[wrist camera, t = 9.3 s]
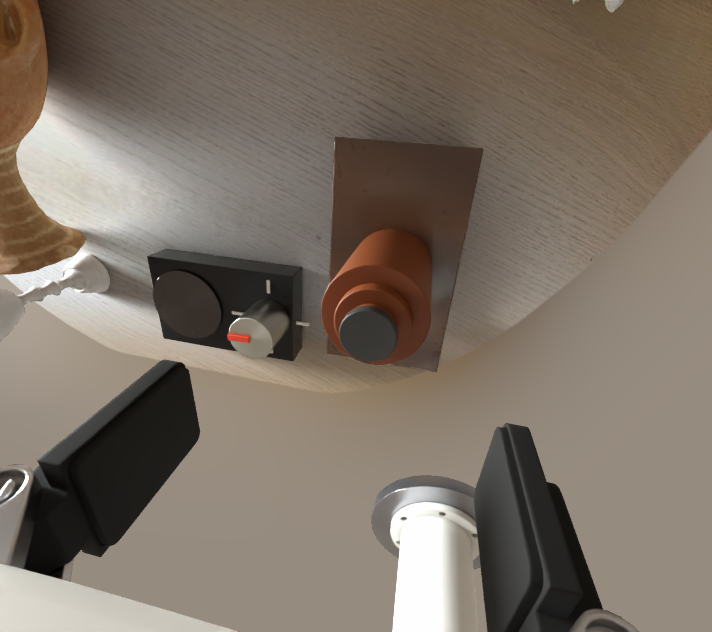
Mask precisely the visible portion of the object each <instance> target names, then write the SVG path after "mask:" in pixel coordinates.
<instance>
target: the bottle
mask: <svg viewBox="0 0 712 632" xmlns="http://www.w3.org/2000/svg"><path fill="white" fill-rule="evenodd" d="M431 294H432V261H431V257H430V254H429V252H428V250H427V248H426V247H425V245H424V244H423V243H422V242H421V241H420V240H419V239H418V238H417V237H416V236H414V235H413V234H411V233H409V232H406V231H403V230H399V229H384V230H380V231H377V232H374V233H372V234H370V235H369V236H368V237H366V238H365V239H364V240H363V241H362V242H361V243H360V245H359V246H358V247H357V248H356V250H355V251H354V252H353V254H352V255H351V256H350V258H349V259H348V260H347V262H346V263H345V264H344V266H343V267H342V268H341V270H340V271H339V272H338V274H337V275H336V276H335V278H334V279H333V280H332V282H331V283H330V284H329V286H328V288H327V289H326V291H325V293H324V296H323V299H322V303H321V318H322V323H323V326H324V329H325V331H326V333H327V335H328V337H329V338H330V340H331V341H332V342H333V344H334V345H335V346H336V347H337V348H338V349H339V350H340V351H342V352H343V353H344V354H346V355H347V356H349V357H351V358H353V359H355V360H357V361H360V362H363V363H368V364H375V365H384V364H391V363H396V362H399V361H401V360H403V359H405V358H407V357H409V356H410V355H412V354H413V353H414V352H416V351H417V350H418V349H419V348H420V346H421V345H422V344H423V342H424V341H425V339H426V337H427V335H428V332H429V329H430V323H431Z"/></svg>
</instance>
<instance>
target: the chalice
mask: <svg viewBox="0 0 712 632" xmlns="http://www.w3.org/2000/svg"><path fill="white" fill-rule="evenodd" d="M63 277H64V279H62V280H60V281H52V280H48V281H47V282H46V285H44V286H43V287H39V288H36V287H31V288H30V289H29V291H27V292H26V293H24V294H22V295H15V294H14V293H12V292H11V291H8V290H0V341H1V340H2V339H3V338H4V337H6V336H7V335H8V334H9V332H10V331H11V330H12V329H13V328H14V326H15V325H16V324H17V322H18V321H19V320H20V319H21V318H22V316H23V315H24V313H25V308H24V305H25V304H26V303H28V302H33V301H43V299H44V297H45V296H47V295H50V294H54V295H60V293H61V290H63V289H64V288H67V287H70V288H72V289H73V290H75V291H78V292H82V293H95V292H96V293H102V292H105V291H106V290H107V289H108V288H109V285H110V277H109V274H108V272H107V269H106V268H105V266H104V265H103V264H102V263H101V262H100V261H99V260H98V259H97V258H96V257H94V256H92V255H90V254H86V253H80V254H78V255H76V256H75V257H74V259H73V260H71V261H70V263H69V264H67V265H66V267H65V268H64V272H63Z"/></svg>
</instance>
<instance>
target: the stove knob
mask: <svg viewBox="0 0 712 632" xmlns="http://www.w3.org/2000/svg"><path fill="white" fill-rule="evenodd" d="M289 325H290V319H289V315H288V313H287V311H286V310H285V308H284V307H283V306H282V305H280V304H279V303H277V302H276V301H273V300H269V299H263V300H259V301H257V302H256V303H255V304H253V305H252V306H251V307H250V308H249V309H248V310H247V311H246V312H244V313H243V314H242V315H241V316H240V317H239V318H238V319H237V320H235V321H234V322H233V323H232V325H231V326H230V329H229V334H228V335H227V336H228V340H230V341H231V344H232V345H233V347H234V348H235V349H236V350H237V351H238V352H239V353H240V354H242V355H243V356H245V357H248V358H251V359H261V358H264V357H266V356H267V355H268V354H269V353H270V352H271V351H272V349H273V348H274V347H275V346H276V344H277V343H278V342H279V341H280V339H281V338H282V337H283V335H284V334H285V333H286V332H287V330H288V329H289Z"/></svg>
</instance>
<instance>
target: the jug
mask: <svg viewBox="0 0 712 632" xmlns="http://www.w3.org/2000/svg"><path fill="white" fill-rule="evenodd" d="M47 82H48V58H47V47H46V42H45V32H44V26H43V22H42V17H41V13H40V9H39V5H38V1H37V0H0V275H4V274H21V273H26V272H32V271H36V270H39V269H41V268H43V267H45V266H48V265H52V264H55V263H57V262H59V261H61V260H63V259H66V258H69V257H72V256H74V255H75V254H76V253H77V252H78V251H79V249H80V248H81V247H82V246H83V244H84V243H85V240H86V239H85V237H84V236H83V235H82V233H80V232H79V231H78V230H76V229H73V228H70V227H67V226H63V225H61V224H59V223H58V222H56V221H55V220H53V219H51V218H49V217H48V216H46V214H45V213H44V212H43V211H42V210H41V209H40V208H39V207H38V205H37V203H36V202H35V200H34V199H33V198H32V196H31V195H30V194H29V192H28V190H27V188H26V186H25V184H24V183H23V181H22V179H21V177H20V175H19V171H18V167H17V161H16V151H17V149H18V146H19V144H20V142H21V140H22V139H23V138H24V137H25V136H26V135H27V134H28V132H29V131H30V130H31V129H32V128H33V126H34V125H35V123H36V122H37V120H38V119H39V117H40V114H41V112H42V109H43V105H44V101H45V95H46V90H47Z"/></svg>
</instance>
